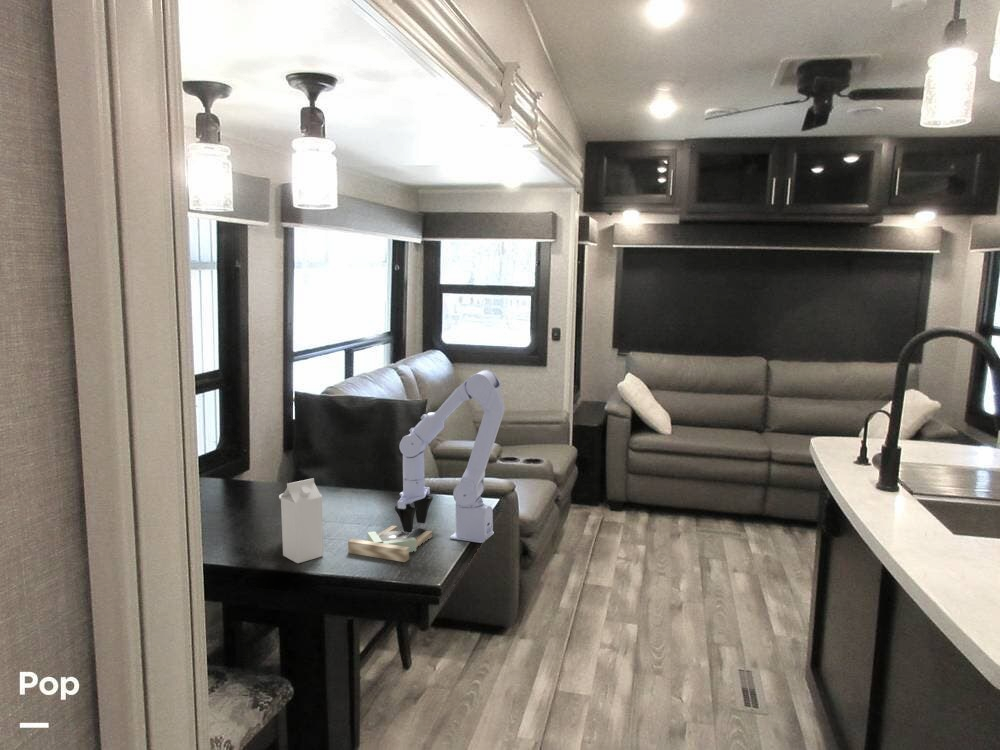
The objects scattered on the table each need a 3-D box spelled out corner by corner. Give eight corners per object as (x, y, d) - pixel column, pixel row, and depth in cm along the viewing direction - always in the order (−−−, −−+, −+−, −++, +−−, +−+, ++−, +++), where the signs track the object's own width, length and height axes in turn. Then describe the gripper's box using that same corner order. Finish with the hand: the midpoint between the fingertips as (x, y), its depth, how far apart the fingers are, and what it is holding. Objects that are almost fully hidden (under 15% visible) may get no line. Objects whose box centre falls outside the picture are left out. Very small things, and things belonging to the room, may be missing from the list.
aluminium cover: (412, 544, 182) (411, 533, 182) (398, 553, 175) (398, 542, 175) (388, 540, 184) (388, 529, 184) (374, 550, 178) (373, 538, 178)
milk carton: (282, 556, 173) (279, 480, 171) (309, 548, 178) (306, 475, 176) (297, 564, 168) (294, 486, 166) (323, 556, 173) (321, 481, 171)
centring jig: (438, 537, 186) (438, 526, 186) (405, 562, 170) (404, 550, 169) (386, 529, 192) (385, 519, 192) (348, 552, 176) (348, 541, 175)
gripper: (413, 470, 197) (414, 517, 198) (386, 483, 183) (387, 534, 185) (436, 472, 194) (436, 520, 196) (410, 486, 181) (411, 537, 182)
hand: (414, 527), depth 190 cm, fingers open, 7 cm apart
